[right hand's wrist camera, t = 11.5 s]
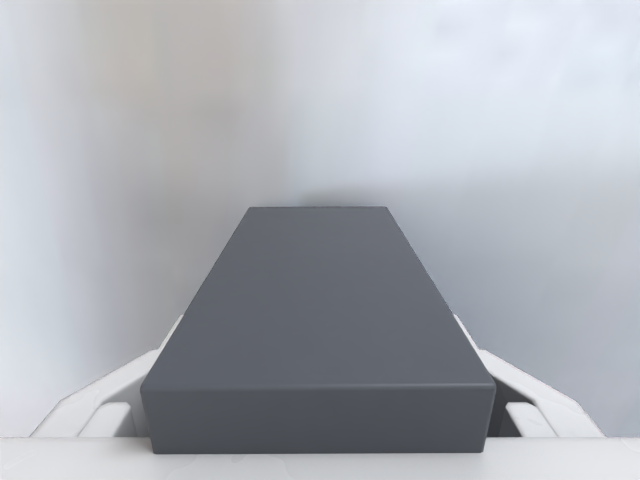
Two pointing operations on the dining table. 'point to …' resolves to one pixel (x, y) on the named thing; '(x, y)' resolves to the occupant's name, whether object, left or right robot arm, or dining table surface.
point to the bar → (318, 347)
